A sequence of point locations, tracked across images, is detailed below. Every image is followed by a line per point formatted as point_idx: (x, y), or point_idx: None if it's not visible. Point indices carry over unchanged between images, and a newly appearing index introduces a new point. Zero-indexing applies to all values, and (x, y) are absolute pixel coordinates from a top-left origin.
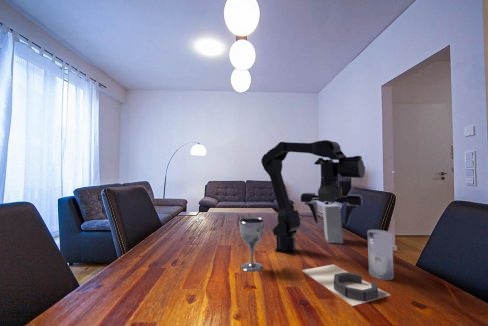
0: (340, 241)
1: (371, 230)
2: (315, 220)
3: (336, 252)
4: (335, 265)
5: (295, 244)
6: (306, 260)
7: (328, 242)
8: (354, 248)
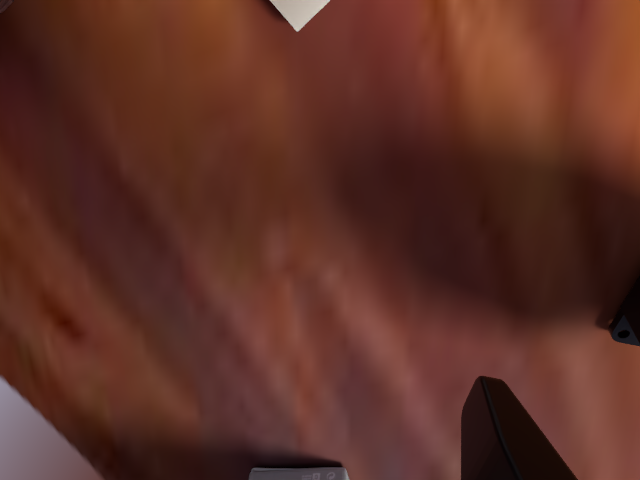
0: (264, 478)
1: None
2: (521, 416)
3: (288, 332)
4: (278, 8)
5: (636, 332)
6: (538, 114)
7: (342, 467)
8: (182, 412)
